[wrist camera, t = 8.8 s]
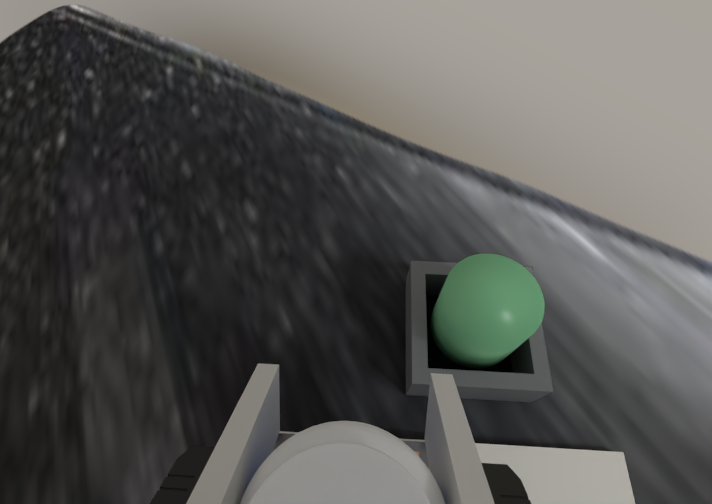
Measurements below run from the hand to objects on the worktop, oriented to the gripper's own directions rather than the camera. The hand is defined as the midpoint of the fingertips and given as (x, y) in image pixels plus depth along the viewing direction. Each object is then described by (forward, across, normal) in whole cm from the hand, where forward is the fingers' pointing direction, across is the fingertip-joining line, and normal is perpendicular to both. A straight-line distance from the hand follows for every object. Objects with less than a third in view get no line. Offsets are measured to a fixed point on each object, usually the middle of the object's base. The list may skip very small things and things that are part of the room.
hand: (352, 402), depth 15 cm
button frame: (+7, +5, -1) cm, 9 cm away
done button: (+6, +5, +1) cm, 8 cm away
